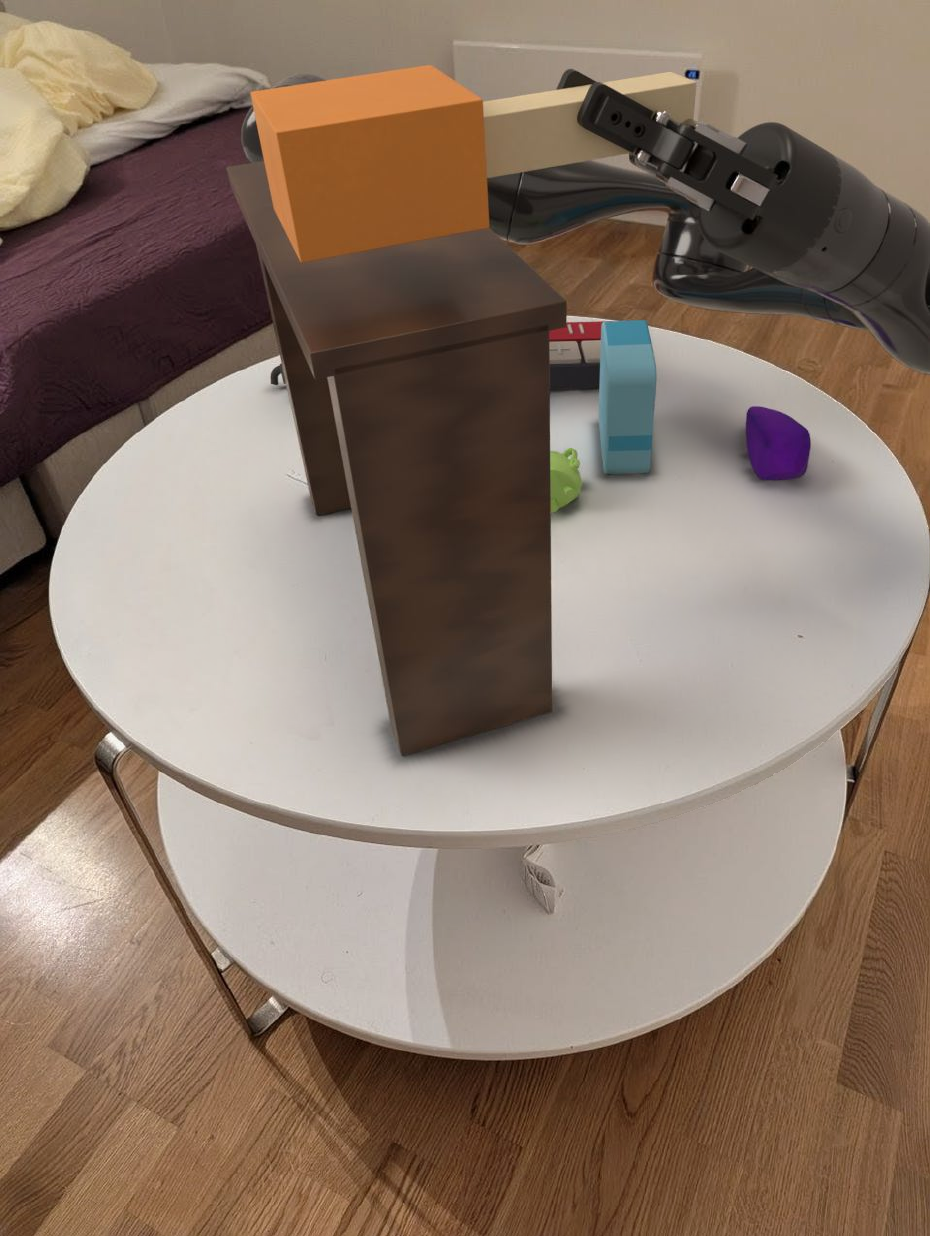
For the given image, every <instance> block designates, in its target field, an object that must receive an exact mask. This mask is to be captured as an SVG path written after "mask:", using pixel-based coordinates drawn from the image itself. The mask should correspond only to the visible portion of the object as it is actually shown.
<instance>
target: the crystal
mask: <svg viewBox="0 0 930 1236" xmlns="http://www.w3.org/2000/svg"><path fill="white" fill-rule="evenodd" d="M745 440H746V451H747V455H748V459H749V463H750V466H751V468H752V470H753V472H754V473H755V475H756V476H757V478H758V479H759V480H763V481H790V480H795V479H799V478H802V477H803V476H805V474H806V472H807V469H808V467H809V460H810V454H811V448H812V447H811V446H812V441H811V434H810V432H809V430H808V429H807V427H805V426H804V425H803V424H801V423H799V422H798V421H797V420H795V419H794V418H793V417H792V416H790V415H788V414H786V413H784V412H782V411H779V410H777V409H773V408H769V407H766V406H760V405H753V406H750V407H749V408H747V410H746V417H745Z"/></svg>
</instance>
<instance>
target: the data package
mask: <svg viewBox="0 0 930 1236" xmlns="http://www.w3.org/2000/svg"><path fill="white" fill-rule="evenodd" d="M605 321H606V322H603V323H602V326H601V353H600V386H599V388H598V389H599V391H598V428H599V438H600V450H601V458H602V468H603V473H604V474H605V475H611V474H612V475H613V474H614V475H617V474H618V475H619V474H647V473H649V472H650V469H651V462H652V461H651V460H652V448H653V433H654V421H655V420H654V419H655V407H656V394H657V393H656V392H657V377H658V376H657V361H656V358H655V357H656V356H655V352H654V349H653V348H654V347H653V343H652V337H651V334H650V329H649V323H648V321H647V320H646V319H633V320H632V319H631V320H605Z"/></svg>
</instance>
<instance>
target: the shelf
mask: <svg viewBox="0 0 930 1236" xmlns="http://www.w3.org/2000/svg"><path fill="white" fill-rule="evenodd" d="M226 172H227V177H228V182H229V187H230V188H231V191H232V193H233V195H234V197H235V200H236V202H237V204H238V206H239V209H240V211H241V213H242V216H243V218H244V221H245V223H246V225H247V227H248V230H249V232H250V235H251V237H252V239H253V241H254V243H255V247H256V251H257V256H258V260H259V265H260V269H261V274H262V278H263V279H262V280H263V284H264V288H265V292H266V299H267V302H268V306H269V312H270V316H271V320H272V326H273V330H274V334H275V335H274V336H275V338H276V345H277V349H278V353H279V358H280V364H281V363H282V367H283V372H284V376H285V381H286V384H285V385H286V389H287V394H288V400H289V404H290V409H291V413H292V417H293V422H294V426H295V430H296V431H295V432H296V436H297V442H298V445H299V450H300V455H301V460H302V464H303V469H304V473H305V478H306V482H307V488H308V491H309V492H308V493H309V496H310V500H311V503H312V506H313V509H314V513H315V515H316V516H317V517H318V516H322V515H326V514H331V513H334V512H335V513H336V512H339V511H343V510H347V509H351V514H352V520H353V526H354V530H355V537H356V543H357V545H358V546H357V547H358V553H359V559H360V564H361V569H362V575H363V580H364V586H365V590H366V591H365V592H366V596H367V602H368V608H369V612H370V613H369V614H370V619H371V625H372V629H373V636H374V641H375V647H376V651H377V656H378V662H379V668H380V673H381V679H382V685H383V691H384V695H385V696H384V697H385V701H386V706H387V711H388V712H387V713H388V717H389V722H390V727H391V731H392V734H393V736H394V739H395V742H396V745H397V748H398V752H399V754H400V756H406V755H409V754H413V753H416V752H419V751H424V750H427V749H430V748H433V747H436V746H440V745H443V744H447V743H450V742H454V741H457V740H461V739H464V738H468V737H471V736H474V735H478V734H481V733H485V732H488V731H492V730H495V729H499V728H501V727H502V728H503V727H506V726H508V725H512V724H516V723H519V722H522V721H526V720H530V719H533V718H537V717H539V716H543V715H546V714H550V713H553V643H552V642H553V625H552V622H553V619H552V618H553V617H552V615H553V614H552V611H553V609H552V607H553V606H552V512H551V477H550V451H551V389H550V351H549V331H551V330H556V329H561V328H566V326H567V322H568V321H567V320H568V319H567V313H568V311H567V310H568V309H567V308H568V307H567V306H568V305H567V304H568V302H567V300H566V299H565V298H564V297H563V296H561V294H560V293H559V292H557V290H555V288H553V287H552V286H551V285H550V284H549V283H548V282H547V281H546V280H545V279H544V278H543V277H542V276H541V275H540V274H538V272H536V270H534V269H533V268H532V267H531V266H530V265H529V264H528V262H526V261H525V260H524V259H523V258H522V257H521V256H520V255H519V254H518V253H516V252H515V251H514V250H513V248H511V246H509V245H508V244H507V243H506V241H503V240H502V239H501V238H500V237H499V236H498V235H496V234H495V233H494V232H493V231H492V230H491V229H490V228H486V229H480V230H475V231H470V232H464V233H459V234H454V235H448V236H443V237H437V238H432V239H427V240H421V241H416V242H411V243H405V244H400V245H394V246H389V247H384V248H378V249H373V250H368V251H362V252H357V253H351V254H346V255H341V256H335V257H330V258H325V259H319V260H314V261H308V262H303V263H301V262H300V260H299V258H298V256H297V254H296V252H295V250H294V248H293V246H292V244H291V242H290V240H289V238H288V236H287V234H286V232H285V230H284V228H283V226H282V224H281V222H280V220H279V218H278V216H277V214H276V212H275V210H274V207H273V202H272V197H271V192H270V187H269V182H268V178H267V173H266V168H265V163H264V161H260V162H254V163H249V162H248V163H243V164H237V165H236V164H235V165H229V166H226Z"/></svg>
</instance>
